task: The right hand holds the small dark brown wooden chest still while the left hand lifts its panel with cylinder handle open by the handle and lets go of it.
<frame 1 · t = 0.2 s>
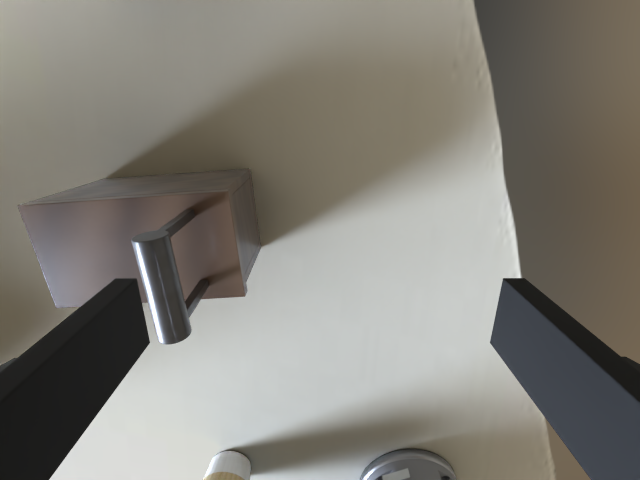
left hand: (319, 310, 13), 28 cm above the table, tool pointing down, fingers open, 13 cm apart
chest: (185, 214, 40), on the table
coffee cup: (231, 464, 54), on the table
panel with cylinder handle: (114, 270, 26), point 15 cm above the table, hinge at 0.0°
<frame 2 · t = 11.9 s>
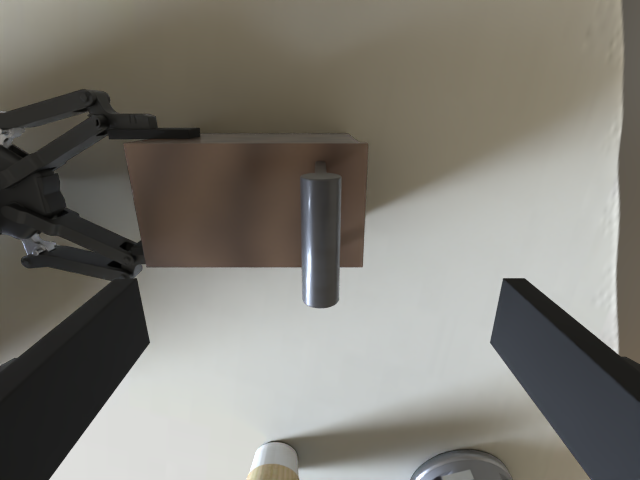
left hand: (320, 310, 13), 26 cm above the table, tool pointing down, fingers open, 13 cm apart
right hand: (201, 192, 31), fingers closed on chest, 9 cm apart
chest: (268, 179, 37), on the table, touching right hand
coffee cup: (276, 456, 51), on the table
panel with cylinder handle: (240, 223, 22), point 15 cm above the table, hinge at 0.0°
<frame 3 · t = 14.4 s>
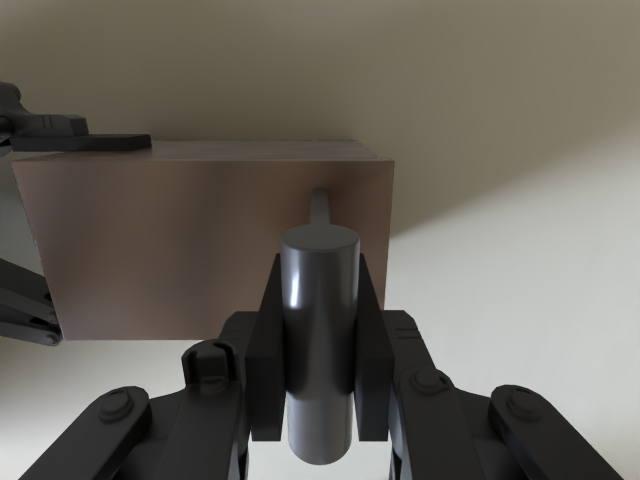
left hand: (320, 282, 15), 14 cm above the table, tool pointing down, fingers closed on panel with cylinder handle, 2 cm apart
chest: (252, 201, 28), on the table, touching right hand
panel with cylinder handle: (189, 293, 14), point 15 cm above the table, hinge at 0.0°, touching left hand
when the right hand's fingers open (6 cm above the table, at t = 21.6 s): chest stays where it is, on the table.
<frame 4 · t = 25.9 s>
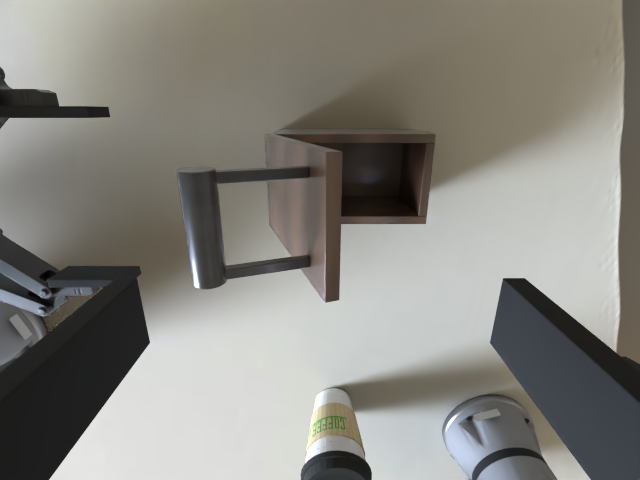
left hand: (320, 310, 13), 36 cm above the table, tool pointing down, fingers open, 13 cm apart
chest: (344, 166, 47), on the table
coffee cup: (332, 401, 61), on the table
panel with cylinder handle: (246, 204, 27), point 21 cm above the table, hinge at 70.4°
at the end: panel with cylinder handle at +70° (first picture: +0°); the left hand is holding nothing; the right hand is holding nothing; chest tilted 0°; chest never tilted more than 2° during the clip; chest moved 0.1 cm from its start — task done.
